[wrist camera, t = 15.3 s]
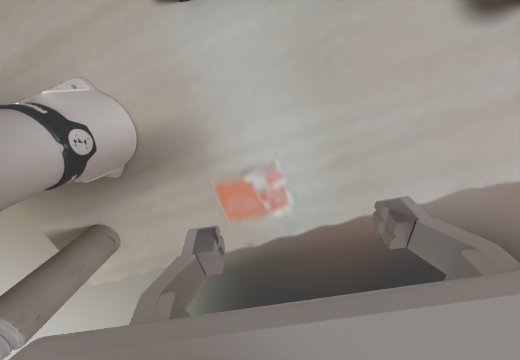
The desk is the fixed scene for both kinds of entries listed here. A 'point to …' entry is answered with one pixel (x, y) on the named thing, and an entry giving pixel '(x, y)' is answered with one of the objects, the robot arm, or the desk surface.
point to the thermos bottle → (52, 286)
